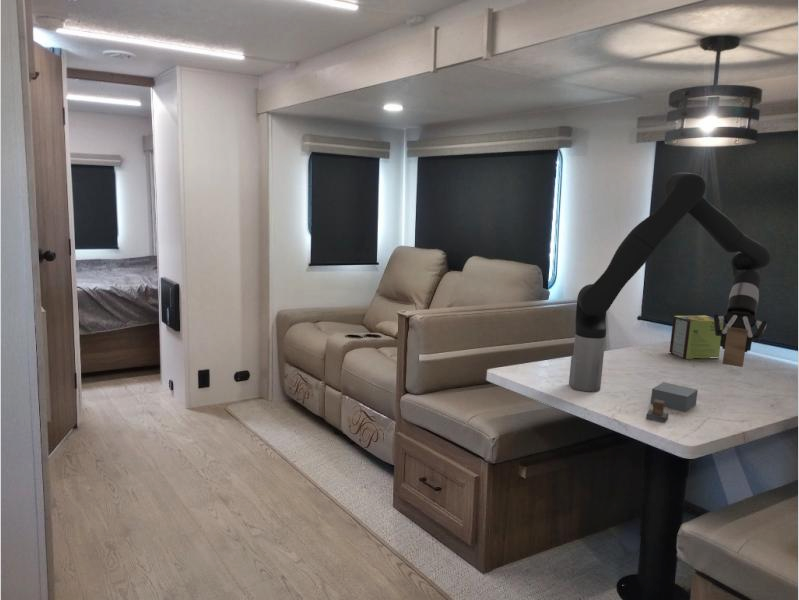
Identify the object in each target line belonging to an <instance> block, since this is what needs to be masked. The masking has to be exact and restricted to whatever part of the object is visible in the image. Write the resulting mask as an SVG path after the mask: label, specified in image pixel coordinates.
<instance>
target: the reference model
mask: <svg viewBox="0 0 799 600" xmlns="http://www.w3.org/2000/svg"><path fill="white" fill-rule="evenodd" d="M664 402H665V401H662V400H657V399H655V400H654V402H653V404H652V409H651V408H649V410H648V411H647V413H646V416H645V419H646V420H649V419H650V420H649V421H653V420H654V422H658V421H659V422H658V423H664V424H665V422H666V423H667V420H668V419H669V412H667V411H664V410H665V409H664V408H665V407H664Z"/></svg>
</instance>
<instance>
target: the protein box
mask: <svg viewBox="0 0 799 600" xmlns="http://www.w3.org/2000/svg"><path fill="white" fill-rule="evenodd" d="M672 319H673V320H672V326H671V327H672V328H671V334H670V335H671V336H670V344H669V345H670V346H669V352H671V353H673V354H672V355H674V354H675V355H674V356H677V355H678V356H677V357H679V356H680V357H679V358H682V357H683V358H682V359H684V358H685V360H694V359H693V358H710V357H720V352H721V346H720V341H721V336H716V335H715V328H714V317H712V316H708V315H674V316H673V318H672ZM724 323H725V321H724V320H723V321H722V323H721V324H720V330H724ZM671 353H670V354H671Z"/></svg>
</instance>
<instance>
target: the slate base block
mask: <svg viewBox="0 0 799 600" xmlns="http://www.w3.org/2000/svg"><path fill="white" fill-rule="evenodd" d="M698 390H699V389H697V388H692V387H687V386H683V385H678V384H674V383H670V382H664V381H663V382H661V383H659V384H658V385H656V386H654V387H653V388H652V390H651V396H650V404H651V405H653V402H654V400H655V399H657V400H662V401H665V402H664V408H665V407H667V408H666V409H670V410H674V411H678V412H681V413H682V412H683V413H687V412H688V411H689V410H691V409H692V408H693V407H695V406H696V405H697V398H698V393H699V391H698Z"/></svg>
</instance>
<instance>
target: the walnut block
mask: <svg viewBox="0 0 799 600" xmlns="http://www.w3.org/2000/svg"><path fill="white" fill-rule="evenodd" d="M747 334H748V330H746V329H742V328H735V327H730V328H729V327H728V329H727V335H726V342H725V349H723V350H724V351H723V357H722V365H729V366H732V367H733V366H734V367H740V368H743V366H744V362H745V360H744V359H745V356H746V355H745V354H746V352H745V346H746V340H747Z"/></svg>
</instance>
